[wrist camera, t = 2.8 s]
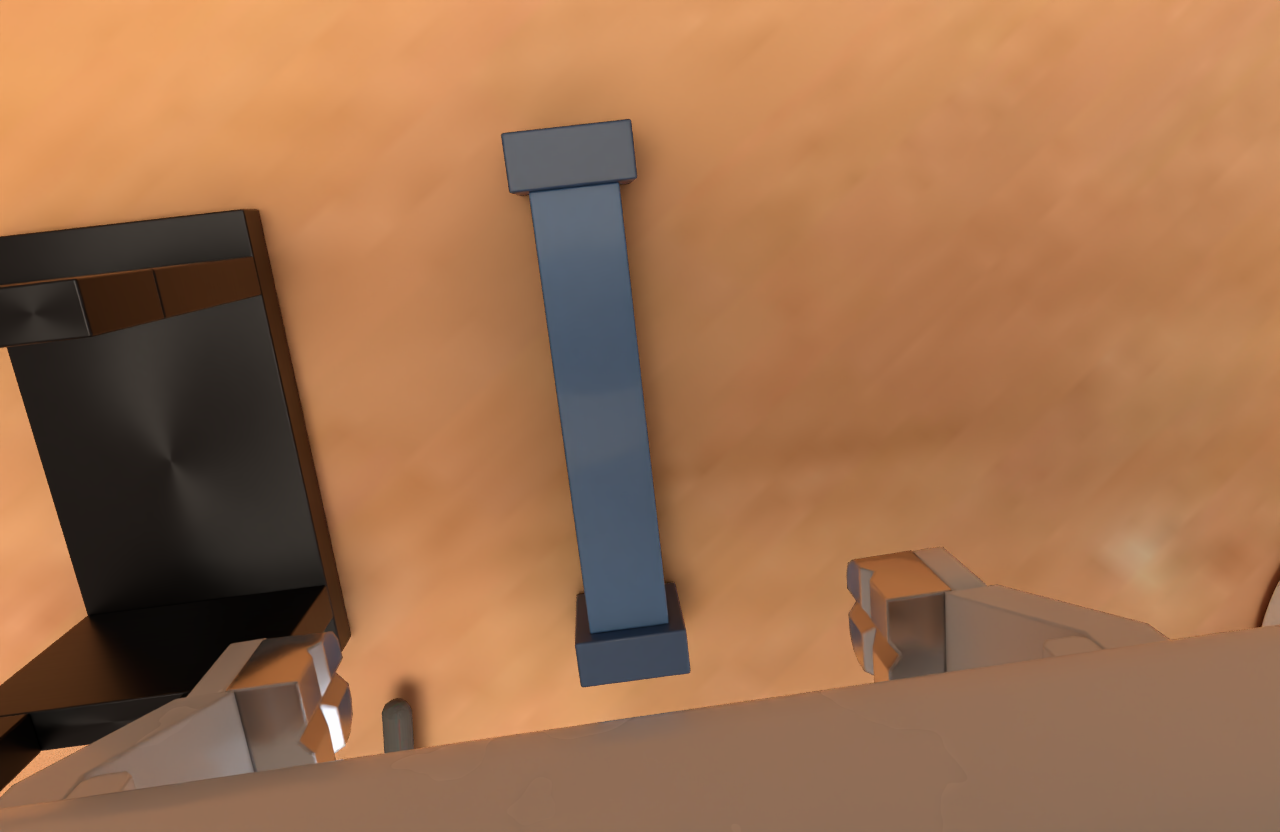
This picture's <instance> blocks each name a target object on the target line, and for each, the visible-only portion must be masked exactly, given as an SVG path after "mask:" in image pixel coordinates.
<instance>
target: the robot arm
mask: <svg viewBox="0 0 1280 832" xmlns="http://www.w3.org/2000/svg"><path fill="white" fill-rule="evenodd" d="M847 589H848V590H849V591H850V593H851V594H852V596H853V597H854V598H855V600H856V603H855V604H854V606H853V607H852V609H851V611H850V612H849V626H850V635H851V640H852V644H853V649H854V652H855V655H856V657H857V660H858V662H859V664H860V665H861V667H862V668H863V670H864V671H865V672H867V673H870V674H872V675H874V683H869V684H862V685H855V686H848V687H841V688H834V689H827V690H820V691H813V692H806V693H799V694H792V695H785V696H778V697H771V698H765V699H758V700H751V701H744V702H737V703H730V704H723V705H716V706H709V707H702V708H695V709H688V710H681V711H674V712H668V713H661V714H654V715H647V716H640V717H633V718H626V719H619V720H612V721H605V722H598V723H591V724H584V725H577V726H571V727H564V728H557V729H550V730H543V731H536V732H529V733H522V734H515V735H508V736H501V737H494V738H487V739H480V740H474V741H467V742H460V743H453V744H446V745H439V746H432V747H425V748H418V749H411V750H404V751H397V752H390V753H383V754H377V755H370V756H363V757H356V758H349V759H342V760H336V758H335V753H336V752H337V751H339V750H340V749H341V748H343V747H344V746H345V745H346V743H347V740H348V738H349V735H350V732H351V724H352V715H353V713H352V699H351V694H350V689H349V684H348V683H347V682H346V681H345V680H344V679H343V678H342V677H340V676H339V675H338V674H337V673H336V670H337V668H338V666H339V664H340V662H341V660H342V658H343V657H342V653H341V649H340V645H339V641H338V638H337V636H336V635H335V634H334V633H333V631H329V632H321V633H312V634H304V635H295V636H287V637H279V638H270V639H266V638H262V639H256V640H250V641H244V642H238V643H232V644H230V645H229V646H228V647H227V649H226V650H225V651H224V652H223V653H222V655H221V656H220V657H219V658H218V659H217V661H216V662H215V663H214V664H213V666H212V667H211V668H210V669H209V670H208V672H207V673H206V674H205V675H204V676H203V678H202V679H201V680H200V681H199V683H198V684H197V685H196V686H195V687H194V689H193V690H192V691H191V692H190V694H189V695H188V696H187V697H186V698H179V699H175V700H173V701H171V702H169V703H167V704H165V705H163V706H161V707H159V708H158V709H156V710H154V711H152V712H150V713H148V714H146V715H144V716H143V717H141V718H139V719H137V720H135V721H133V722H131V723H129V724H127V725H126V726H124V727H122V728H120V729H118V730H116V731H114V732H112V733H110V734H109V735H107V736H105V737H103V738H101V739H99V740H97V741H95V742H93V743H92V744H90V745H88V746H86V747H84V748H82V749H80V750H78V751H76V752H75V753H73V754H71V755H69V756H67V757H65V758H63V759H61V760H59V761H58V762H56V763H54V764H52V765H50V766H48V767H46V768H44V769H42V770H41V771H39V772H37V773H35V774H33V775H31V776H29V777H27V778H25V779H24V780H22V781H20V782H18V783H16V784H14V785H12V786H11V787H10V788H9V789H8V790H7V791H6V792H5V793H4V794H3V795H2V796H1V797H0V832H1280V580H1279V582H1278V584H1277V586H1276V588H1275V590H1274V593H1273V595H1272V597H1271V600H1270V602H1269V605H1268V608H1267V611H1266V614H1265V617H1264V620H1263V624H1262V627H1257V628H1250V629H1243V630H1236V631H1229V632H1222V633H1215V634H1208V635H1202V636H1195V637H1188V638H1181V639H1174V640H1170V639H1169V638H1167V637H1166V636H1164V635H1163V634H1162V633H1160V632H1159V631H1157V630H1156V629H1155V628H1153V627H1152V626H1150V625H1149V624H1147V623H1143V622H1139V621H1135V620H1131V619H1127V618H1124V617H1120V616H1116V615H1112V614H1108V613H1104V612H1101V611H1097V610H1093V609H1089V608H1085V607H1081V606H1077V605H1074V604H1070V603H1066V602H1062V601H1058V600H1054V599H1050V598H1047V597H1043V596H1039V595H1035V594H1031V593H1027V592H1023V591H1020V590H1016V589H1012V588H1008V587H1004V586H1000V585H991V586H987V585H986V584H985V583H984V582H983V581H981V580H980V579H979V578H978V577H977V576H976V575H975V574H973V573H972V572H971V571H970V570H969V569H968V568H966V567H965V566H964V565H963V564H962V563H961V562H960V561H958V560H957V559H956V558H955V557H954V556H953V555H952V554H950V553H949V552H948V551H947V550H946V549H945V548H944V547H933V548H927V549H921V550H916V551H911V550H910V551H904V552H898V553H891V554H885V555H879V556H873V557H866V558H860V559H854V560H851V561H850V562H848V565H847Z"/></svg>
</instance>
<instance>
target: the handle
mask: <svg viewBox="0 0 1280 832" xmlns="http://www.w3.org/2000/svg"><path fill="white" fill-rule="evenodd" d="M501 138H502V145H503V152H504V159H505V166H506V173H507V180H508V187H509V192H510V193H513V194H517V195H521V196H524V195H529V198H530V206H531V213H532V220H533V227H534V234H535V242H536V249H537V256H538V263H539V270H540V277H541V285H542V292H543V299H544V306H545V313H546V320H547V328H548V335H549V342H550V349H551V356H552V363H553V371H554V378H555V385H556V392H557V399H558V407H559V414H560V421H561V428H562V435H563V442H564V450H565V457H566V464H567V471H568V478H569V485H570V493H571V500H572V507H573V514H574V521H575V528H576V536H577V543H578V550H579V557H580V564H581V572H582V579H583V586H584V593H585V594H579V595H577V597H576V629H575V649H576V656H577V663H578V670H579V676H580V683H581V686H582V687H590V686H597V685H605V684H612V683H620V682H627V681H635V680H642V679H650V678H657V677H665V676H672V675H680V674H687V673H690V662H689V652H688V643H687V634H686V628H685V624H684V619H683V615H682V611H681V606H680V602H679V598H678V594H677V589H676V585H675V583H674V582H671V583H665V582H664V574H663V565H662V556H661V547H660V538H659V529H658V521H657V512H656V503H655V494H654V485H653V476H652V467H651V459H650V450H649V441H648V432H647V423H646V414H645V406H644V397H643V388H642V379H641V370H640V361H639V353H638V344H637V335H636V326H635V317H634V308H633V299H632V291H631V282H630V273H629V264H628V255H627V246H626V238H625V229H624V220H623V211H622V202H621V193H620V185H621V184H629V183H631V182H632V181H634V180H635V179H636V178H637V169H636V160H635V151H634V142H633V132H632V123H631V120H630V119H625V120H616V121H607V122H598V123H589V124H580V125H571V126H562V127H553V128H544V129H535V130H526V131H517V132H508V133H502V134H501Z"/></svg>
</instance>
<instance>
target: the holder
mask: <svg viewBox="0 0 1280 832" xmlns="http://www.w3.org/2000/svg"><path fill="white" fill-rule="evenodd" d="M3 347H7V349H8V353H9V356H10V359H11V363H12V366H13V369H14V373H15V376H16V379H17V383H18V386H19V389H20V392H21V396H22V399H23V402H24V406H25V409H26V412H27V416H28V419H29V422H30V425H31V429H32V432H33V435H34V439H35V442H36V445H37V449H38V452H39V455H40V459H41V462H42V465H43V468H44V472H45V475H46V478H47V482H48V485H49V488H50V492H51V495H52V498H53V502H54V505H55V508H56V511H57V515H58V518H59V521H60V525H61V528H62V531H63V535H64V538H65V541H66V544H67V548H68V551H69V554H70V558H71V561H72V564H73V568H74V571H75V574H76V578H77V581H78V584H79V587H80V591H81V594H82V597H83V601H84V604H85V607H86V611H87V614H88V616H87V617H85V618H84V619H83V620H82V621H80V622H79V623H78V624H77V625H75V626H74V627H73V628H72V629H70V630H69V631H68V632H67V633H65V634H64V635H63V636H62V637H60V638H59V639H58V640H57V641H55V642H54V643H53V644H52V645H50V646H49V647H48V648H47V649H45V650H44V651H43V652H42V653H40V654H39V655H38V656H37V657H35V658H34V659H33V660H32V661H30V662H29V663H28V664H27V665H25V666H24V667H23V668H22V669H20V670H19V671H18V672H17V673H15V674H14V675H13V676H12V677H10V678H9V679H8V680H7V681H5V682H4V683H3V684H2V685H1V686H0V791H1V790H2V789H3V788H4V787H5V786H6V785H7V784H8V783H10V782H11V781H12V780H13V779H14V778H15V777H16V776H17V775H18V774H19V773H20V772H21V771H22V770H23V769H24V768H25V767H26V766H27V765H28V764H29V763H30V762H31V761H32V760H33V759H34V758H35V757H36V756H37V755H38V754H39V753H40V751H43V750H51V749H58V748H66V747H73V746H81V745H89V744H92V743H93V742H95V741H97V740H99V739H101V738H103V737H105V736H107V735H109V734H110V733H112V732H114V731H116V730H118V729H120V728H122V727H124V726H126V725H127V724H129V723H131V722H133V721H135V720H137V719H139V718H141V717H143V716H144V715H146V714H148V713H150V712H152V711H154V710H156V709H158V708H159V707H161V706H163V705H165V704H167V703H169V702H171V701H173V700H175V699H179V698H186V697H187V696H188V695H189V694H190V692H191V691H192V690H193V689H194V687H195V686H196V685H197V684H198V683H199V681H200V680H201V679H202V678H203V676H204V675H205V674H206V673H207V672H208V670H209V669H210V668H211V667H212V666H213V664H214V663H215V662H216V661H217V659H218V658H219V657H220V656H221V655H222V653H223V652H224V651H225V650H226V649H227V647H228V646H229V645H230V644H232V643H238V642H244V641H250V640H256V639H262V638H266V639H270V638H279V637H287V636H295V635H304V634H312V633H321V632H329V631H333V633H334V634H335V635H336V636H337V638H338V641H339V645H340V649H341V652H342V651H343V649H344V647H345V646H346V644H347V642H348V640H349V638H350V637H351V634H350V629H349V625H348V620H347V615H346V611H345V606H344V602H343V597H342V593H341V588H340V583H339V579H338V574H337V570H336V565H335V560H334V556H333V551H332V547H331V542H330V538H329V533H328V528H327V524H326V519H325V515H324V510H323V505H322V501H321V496H320V492H319V487H318V483H317V478H316V473H315V469H314V464H313V460H312V455H311V450H310V446H309V441H308V437H307V432H306V428H305V423H304V418H303V414H302V409H301V405H300V400H299V395H298V391H297V386H296V382H295V377H294V372H293V368H292V363H291V359H290V354H289V350H288V345H287V340H286V336H285V331H284V327H283V322H282V317H281V313H280V308H279V304H278V299H277V295H276V290H275V285H274V281H273V276H272V272H271V267H270V262H269V258H268V253H267V249H266V244H265V240H264V235H263V230H262V226H261V221H260V217H259V212H258V210H256V209H240V210H231V211H222V212H213V213H204V214H195V215H187V216H178V217H169V218H160V219H151V220H142V221H134V222H125V223H116V224H107V225H98V226H89V227H80V228H72V229H63V230H54V231H45V232H36V233H27V234H19V235H10V236H1V237H0V348H3Z"/></svg>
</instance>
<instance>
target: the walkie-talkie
mask: <svg viewBox="0 0 1280 832" xmlns="http://www.w3.org/2000/svg"><path fill="white" fill-rule="evenodd" d="M382 721H383V737H384V753H390V752H397V751H404V750H411V749H414V739H413V722H412V710H411V707H410V706H409V704H408V703H407V702H406V701H405V700H403V699H400V698H396V699H393V700H391V701H389V702H388V703H387V704H385V706H384V709H383V711H382Z"/></svg>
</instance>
